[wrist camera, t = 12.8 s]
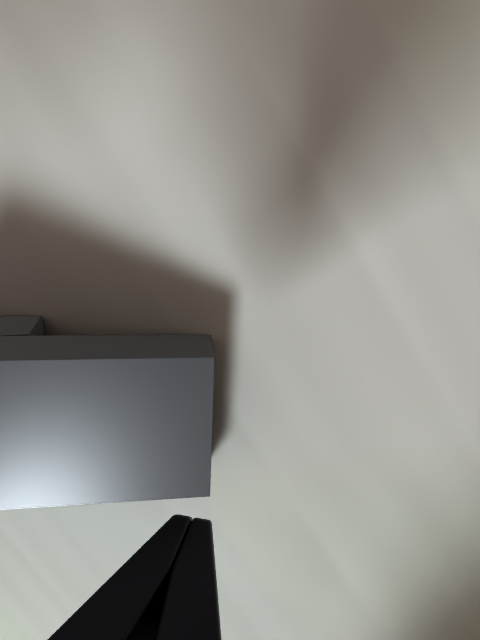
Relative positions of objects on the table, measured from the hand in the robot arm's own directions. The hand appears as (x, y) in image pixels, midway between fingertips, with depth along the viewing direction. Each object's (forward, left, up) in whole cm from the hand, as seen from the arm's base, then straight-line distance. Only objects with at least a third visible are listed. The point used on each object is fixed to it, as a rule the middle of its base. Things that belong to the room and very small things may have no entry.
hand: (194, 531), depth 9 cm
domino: (+1, 0, -4) cm, 4 cm away
